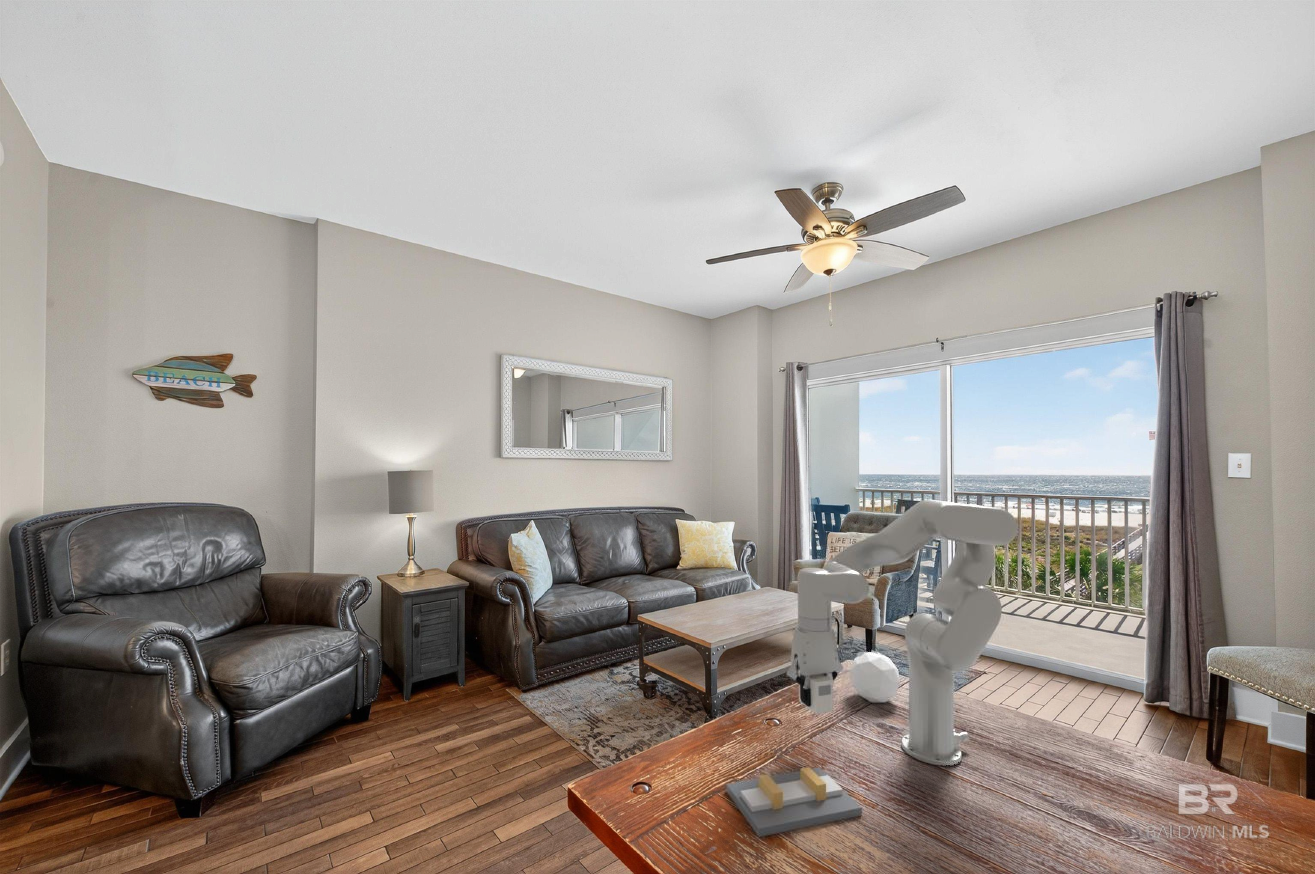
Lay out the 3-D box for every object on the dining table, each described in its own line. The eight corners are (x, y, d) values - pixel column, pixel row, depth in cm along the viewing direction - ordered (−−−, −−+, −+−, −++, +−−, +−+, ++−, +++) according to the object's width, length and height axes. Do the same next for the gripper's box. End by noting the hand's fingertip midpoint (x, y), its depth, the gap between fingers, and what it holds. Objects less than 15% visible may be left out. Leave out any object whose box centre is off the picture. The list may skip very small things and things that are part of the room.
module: (815, 698, 130) (815, 668, 130) (834, 711, 123) (833, 680, 123) (798, 700, 129) (798, 670, 129) (816, 714, 122) (816, 682, 122)
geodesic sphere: (840, 685, 151) (872, 648, 150) (833, 667, 164) (862, 632, 163) (883, 721, 149) (916, 684, 148) (872, 700, 162) (902, 665, 161)
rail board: (819, 774, 118) (819, 753, 118) (861, 815, 105) (861, 791, 105) (726, 791, 111) (726, 768, 112) (758, 836, 98) (759, 811, 98)
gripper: (835, 614, 133) (837, 690, 132) (774, 621, 128) (775, 700, 127) (855, 623, 126) (857, 704, 125) (791, 631, 121) (792, 715, 120)
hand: (815, 701), depth 126 cm, fingers closed on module, 4 cm apart
